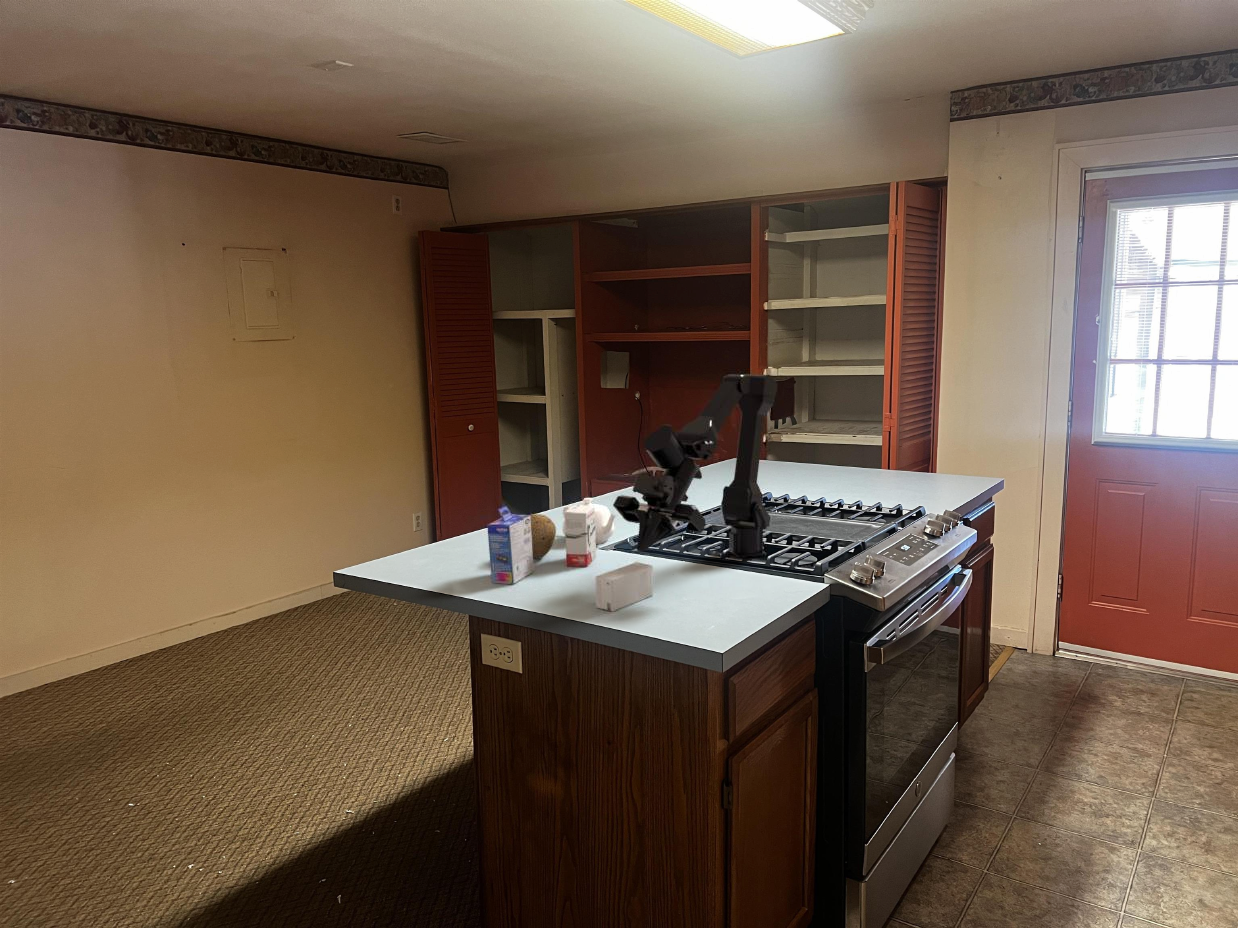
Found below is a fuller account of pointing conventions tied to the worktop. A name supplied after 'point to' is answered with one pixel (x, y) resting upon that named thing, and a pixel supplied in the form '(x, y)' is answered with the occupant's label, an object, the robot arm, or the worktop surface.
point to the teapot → (599, 521)
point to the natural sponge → (542, 534)
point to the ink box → (580, 535)
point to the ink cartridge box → (510, 547)
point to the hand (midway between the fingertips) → (639, 550)
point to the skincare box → (624, 586)
